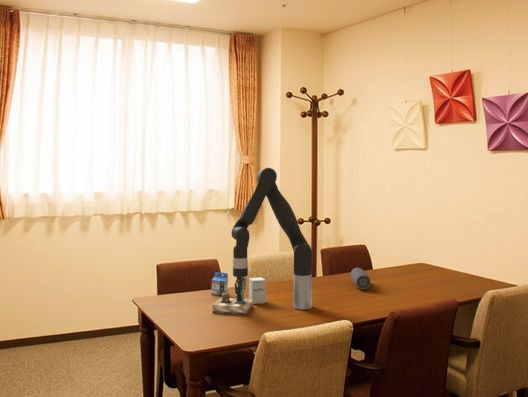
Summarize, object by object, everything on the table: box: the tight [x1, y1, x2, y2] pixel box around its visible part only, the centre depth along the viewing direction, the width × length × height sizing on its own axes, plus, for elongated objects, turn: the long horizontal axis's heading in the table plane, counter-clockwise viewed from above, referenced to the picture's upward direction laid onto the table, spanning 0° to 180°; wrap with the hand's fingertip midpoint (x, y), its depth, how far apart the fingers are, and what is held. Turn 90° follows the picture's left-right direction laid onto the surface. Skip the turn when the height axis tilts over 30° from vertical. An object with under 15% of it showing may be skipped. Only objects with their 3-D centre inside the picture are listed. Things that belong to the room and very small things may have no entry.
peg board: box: [212, 292, 254, 316], centre depth 257 cm, size 17×14×8 cm
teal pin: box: [235, 286, 245, 304], centre depth 256 cm, size 4×4×9 cm
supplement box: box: [248, 277, 266, 305], centre depth 271 cm, size 7×7×13 cm
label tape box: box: [210, 271, 229, 297], centre depth 287 cm, size 9×4×12 cm, turn 62°
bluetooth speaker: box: [350, 267, 372, 290], centre depth 307 cm, size 23×9×10 cm, turn 179°
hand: (240, 300), depth 256 cm, fingers closed on teal pin, 3 cm apart
